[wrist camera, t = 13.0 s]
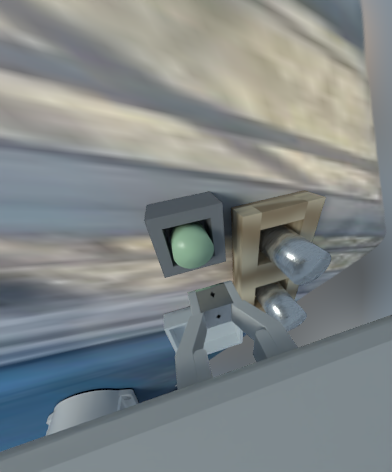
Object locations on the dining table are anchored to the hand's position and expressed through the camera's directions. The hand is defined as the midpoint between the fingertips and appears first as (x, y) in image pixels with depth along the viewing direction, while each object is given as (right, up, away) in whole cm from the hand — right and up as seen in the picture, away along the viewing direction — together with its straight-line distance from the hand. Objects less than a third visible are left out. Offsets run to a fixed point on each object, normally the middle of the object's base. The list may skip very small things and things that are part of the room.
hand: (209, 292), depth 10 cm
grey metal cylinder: (+9, +4, +11) cm, 15 cm away
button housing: (-2, +5, +8) cm, 10 cm away
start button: (-2, +4, +6) cm, 7 cm away
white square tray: (+1, -13, +20) cm, 24 cm away
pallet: (+10, 0, +14) cm, 17 cm away
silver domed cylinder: (+10, -4, +16) cm, 20 cm away
